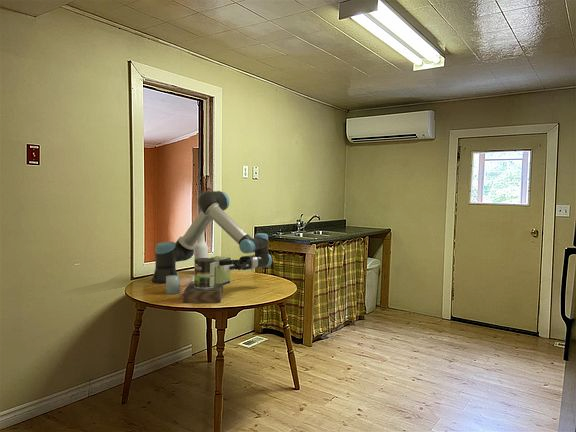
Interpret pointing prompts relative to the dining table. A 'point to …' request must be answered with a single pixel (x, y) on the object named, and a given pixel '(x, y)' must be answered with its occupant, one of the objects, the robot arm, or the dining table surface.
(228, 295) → the dining table surface
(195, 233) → the robot arm
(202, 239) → the alcohol
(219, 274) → the protein box
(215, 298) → the podium
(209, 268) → the coffee can
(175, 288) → the pale glossy cylinder
